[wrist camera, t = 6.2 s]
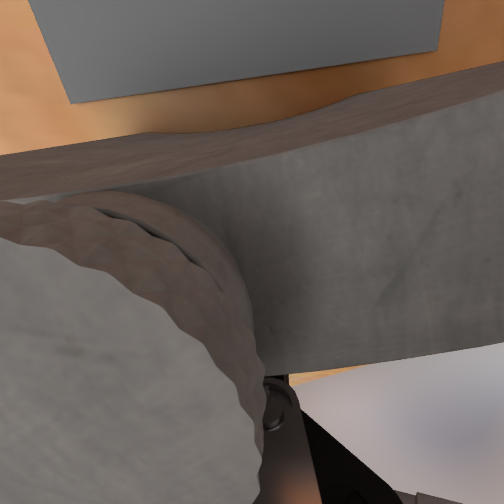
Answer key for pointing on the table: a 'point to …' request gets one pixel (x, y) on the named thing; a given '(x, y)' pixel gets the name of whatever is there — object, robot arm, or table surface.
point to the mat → (221, 39)
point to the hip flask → (235, 282)
